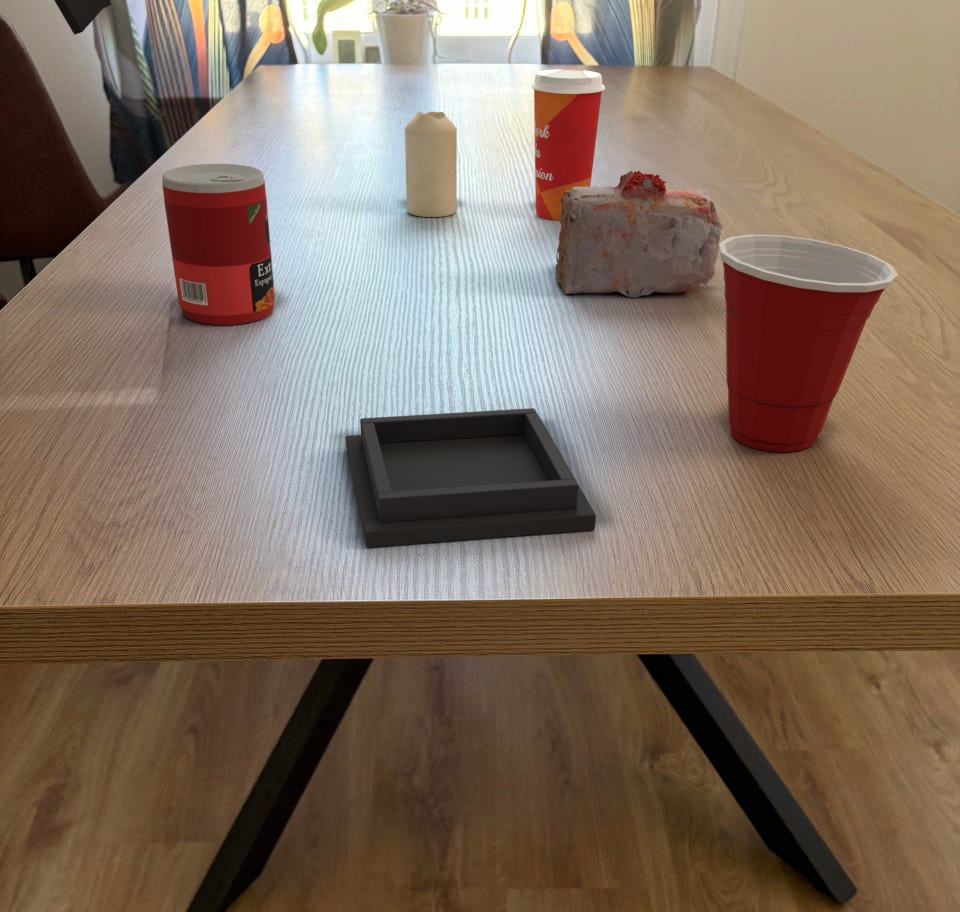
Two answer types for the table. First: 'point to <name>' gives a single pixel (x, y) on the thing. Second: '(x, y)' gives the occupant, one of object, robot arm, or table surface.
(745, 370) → the plastic cup
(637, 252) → the food item
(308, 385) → the table surface
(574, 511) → the base pad
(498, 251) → the table surface
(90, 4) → the robot arm
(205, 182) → the canned food
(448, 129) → the candle
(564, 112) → the paper cup
